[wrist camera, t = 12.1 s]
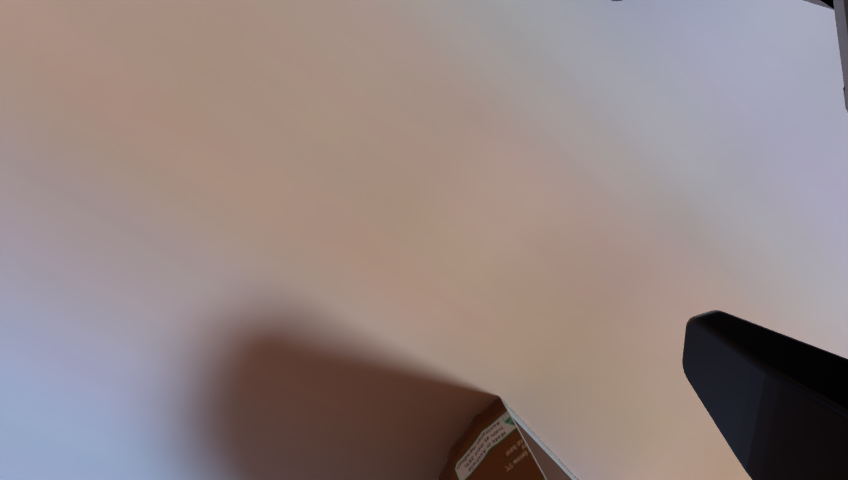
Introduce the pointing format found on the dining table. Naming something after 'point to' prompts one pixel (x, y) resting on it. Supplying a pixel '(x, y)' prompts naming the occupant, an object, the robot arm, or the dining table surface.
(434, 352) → the dining table surface
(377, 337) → the dining table surface
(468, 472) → the food container
